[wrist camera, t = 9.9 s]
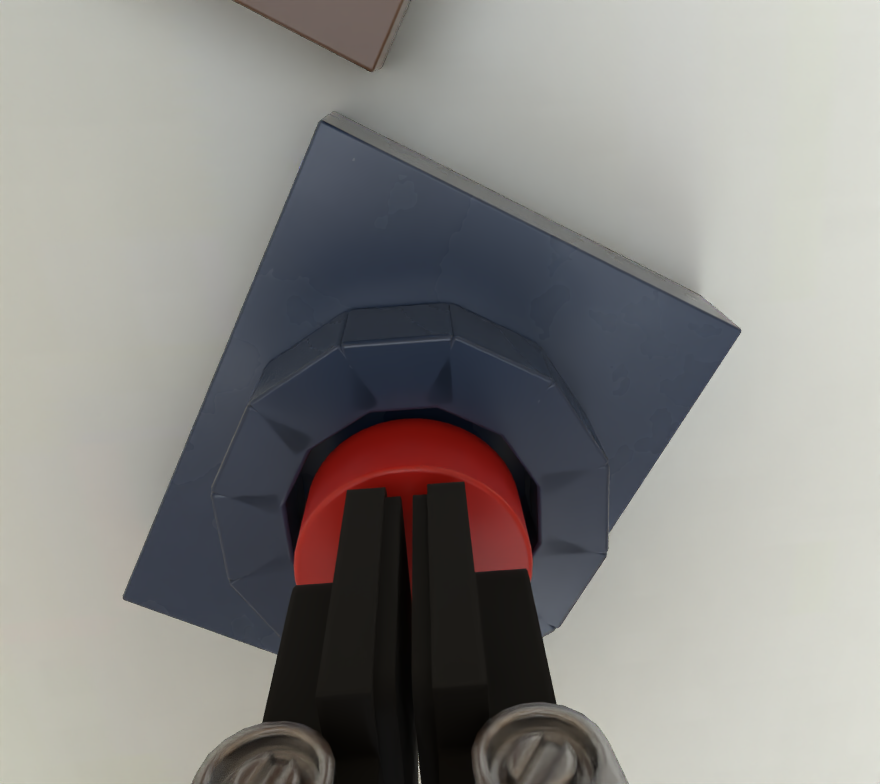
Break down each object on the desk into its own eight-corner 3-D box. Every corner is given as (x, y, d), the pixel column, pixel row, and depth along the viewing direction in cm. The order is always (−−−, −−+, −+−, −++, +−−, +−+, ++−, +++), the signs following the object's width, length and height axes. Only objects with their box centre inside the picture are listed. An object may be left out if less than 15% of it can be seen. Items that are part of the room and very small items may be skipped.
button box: (474, 658, 20) (489, 798, 16) (154, 538, 18) (86, 663, 14) (702, 295, 16) (787, 367, 13) (332, 110, 15) (305, 128, 11)
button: (460, 626, 15) (466, 697, 13) (274, 556, 14) (256, 621, 12) (558, 467, 14) (577, 524, 12) (359, 381, 13) (352, 428, 11)
